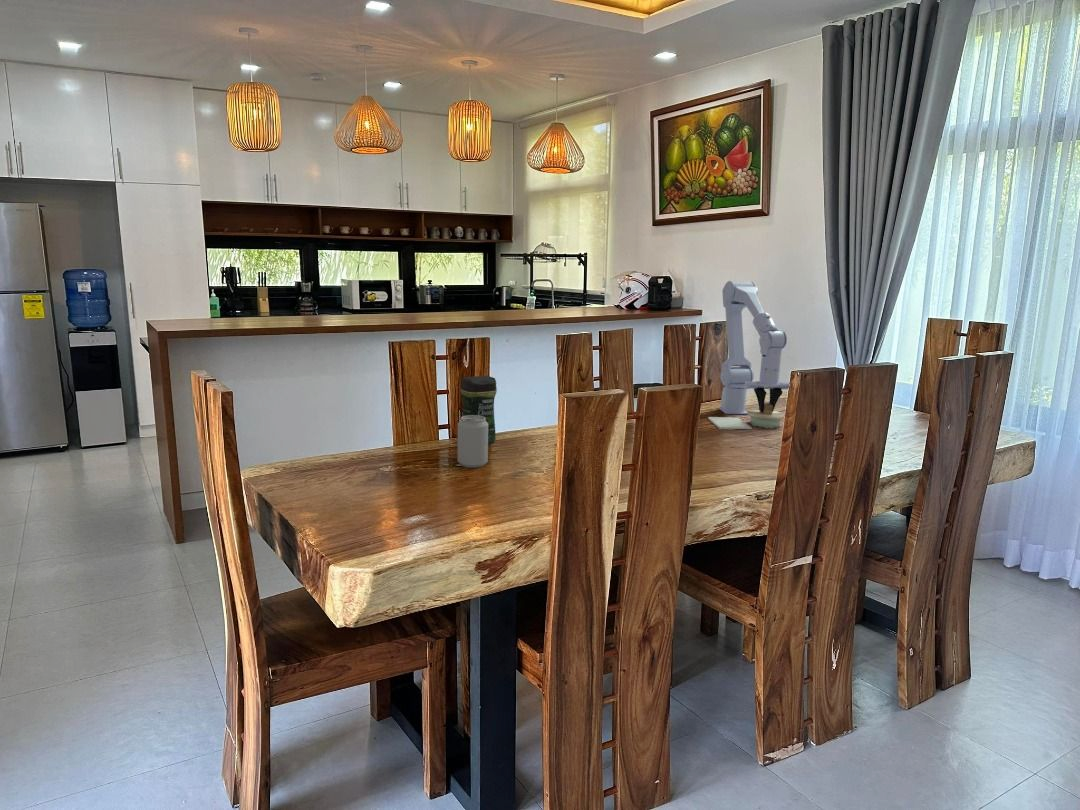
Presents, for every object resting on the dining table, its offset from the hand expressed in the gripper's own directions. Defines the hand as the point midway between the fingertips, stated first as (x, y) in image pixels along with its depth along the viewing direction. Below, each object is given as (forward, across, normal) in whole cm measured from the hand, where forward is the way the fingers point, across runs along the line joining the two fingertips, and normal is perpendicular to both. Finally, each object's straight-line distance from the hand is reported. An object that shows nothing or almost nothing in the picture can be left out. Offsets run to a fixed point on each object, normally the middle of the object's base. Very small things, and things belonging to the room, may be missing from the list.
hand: (766, 411), depth 232 cm
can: (+5, -90, -48) cm, 103 cm away
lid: (+1, 0, 0) cm, 1 cm away
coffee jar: (+5, -90, -27) cm, 94 cm away
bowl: (+4, 0, 0) cm, 4 cm away
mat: (+4, -12, 0) cm, 12 cm away
